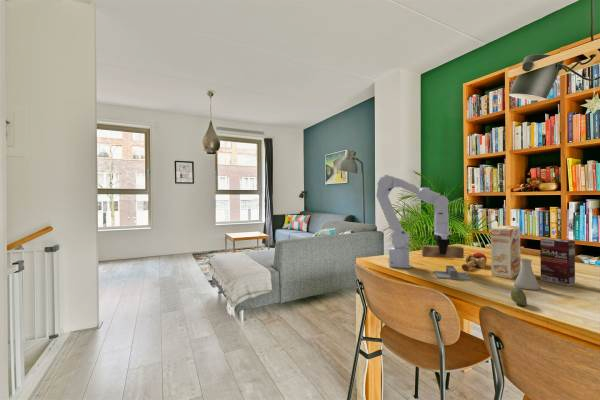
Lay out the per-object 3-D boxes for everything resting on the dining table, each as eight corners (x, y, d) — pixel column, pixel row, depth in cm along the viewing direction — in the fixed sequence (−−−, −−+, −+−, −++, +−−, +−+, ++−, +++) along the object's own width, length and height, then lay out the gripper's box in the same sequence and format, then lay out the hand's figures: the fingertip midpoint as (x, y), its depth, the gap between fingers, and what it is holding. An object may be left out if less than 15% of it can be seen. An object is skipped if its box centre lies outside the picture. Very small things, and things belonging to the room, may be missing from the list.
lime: (524, 302, 84) (524, 285, 84) (533, 308, 79) (533, 291, 79) (507, 301, 85) (507, 285, 85) (515, 307, 81) (515, 290, 81)
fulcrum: (437, 278, 111) (437, 270, 111) (434, 272, 119) (433, 264, 119) (471, 280, 107) (471, 272, 107) (465, 274, 115) (465, 266, 115)
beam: (423, 256, 123) (422, 246, 123) (422, 255, 127) (421, 245, 127) (463, 258, 118) (463, 248, 118) (461, 256, 122) (461, 246, 122)
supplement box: (539, 280, 105) (539, 238, 105) (547, 278, 107) (546, 237, 107) (569, 286, 97) (568, 241, 97) (576, 284, 99) (575, 240, 99)
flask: (542, 291, 93) (541, 262, 93) (515, 288, 96) (514, 260, 96) (537, 285, 99) (537, 258, 99) (512, 283, 103) (511, 256, 103)
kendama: (477, 275, 117) (492, 263, 128) (473, 261, 117) (488, 250, 128) (458, 275, 123) (474, 263, 134) (454, 261, 124) (471, 250, 134)
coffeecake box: (511, 279, 107) (510, 229, 107) (490, 275, 113) (489, 228, 113) (521, 272, 117) (520, 226, 117) (501, 269, 122) (500, 225, 122)
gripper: (455, 224, 114) (455, 257, 114) (448, 221, 128) (448, 250, 128) (436, 224, 116) (437, 256, 116) (431, 221, 130) (432, 250, 130)
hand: (442, 253), depth 122 cm, fingers closed on beam, 4 cm apart
